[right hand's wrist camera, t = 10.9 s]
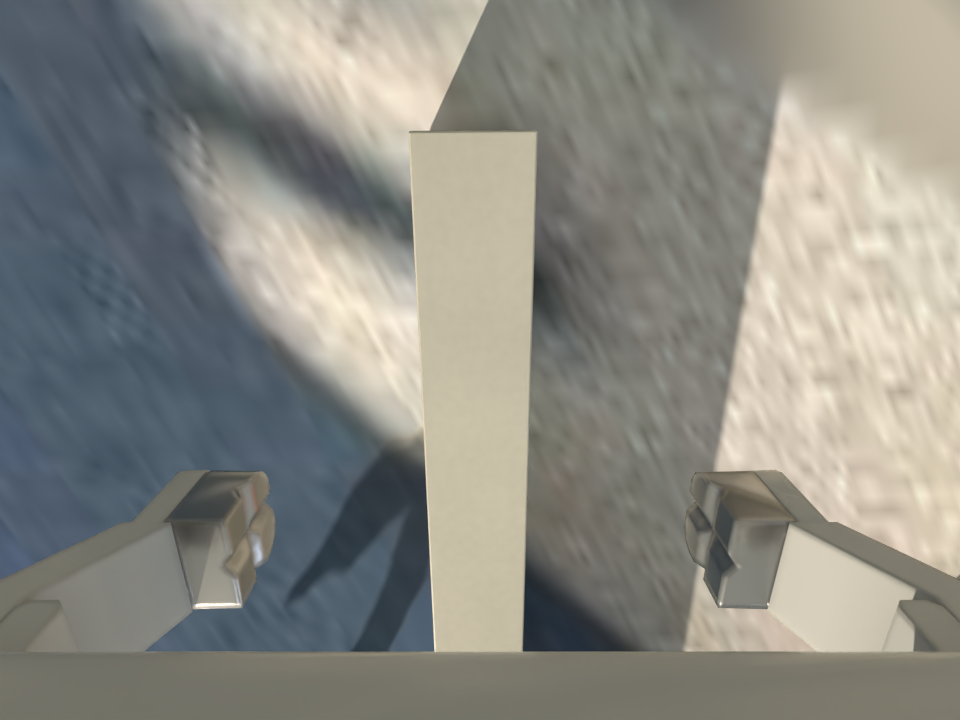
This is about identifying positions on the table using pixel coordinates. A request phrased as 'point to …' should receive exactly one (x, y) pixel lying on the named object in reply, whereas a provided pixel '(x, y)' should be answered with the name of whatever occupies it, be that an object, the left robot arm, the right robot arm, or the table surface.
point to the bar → (475, 374)
